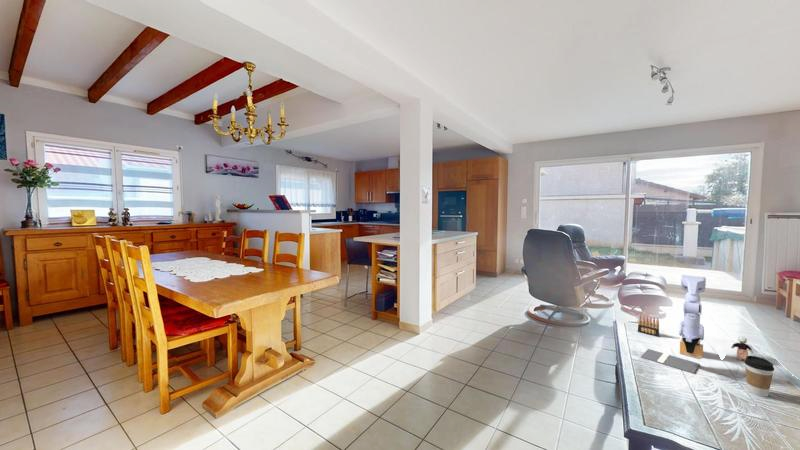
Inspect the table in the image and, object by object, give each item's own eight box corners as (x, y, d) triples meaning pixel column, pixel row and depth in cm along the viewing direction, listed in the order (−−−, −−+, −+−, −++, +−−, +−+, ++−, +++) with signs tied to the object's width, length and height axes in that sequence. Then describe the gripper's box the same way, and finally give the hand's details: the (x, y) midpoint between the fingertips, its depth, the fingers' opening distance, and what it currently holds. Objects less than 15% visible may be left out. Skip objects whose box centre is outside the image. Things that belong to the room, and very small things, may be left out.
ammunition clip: (659, 336, 188) (659, 318, 188) (658, 337, 187) (659, 318, 186) (638, 331, 197) (638, 313, 196) (637, 331, 195) (638, 314, 195)
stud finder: (681, 350, 156) (681, 339, 155) (702, 356, 149) (703, 344, 149) (679, 352, 153) (680, 341, 153) (701, 358, 147) (701, 346, 147)
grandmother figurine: (750, 360, 157) (751, 337, 157) (753, 363, 154) (754, 339, 154) (729, 356, 162) (730, 333, 161) (732, 359, 159) (733, 336, 158)
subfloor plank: (648, 349, 171) (648, 348, 171) (699, 364, 154) (699, 363, 154) (640, 357, 162) (640, 356, 162) (694, 374, 146) (694, 372, 146)
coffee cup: (762, 389, 133) (764, 356, 132) (779, 400, 125) (780, 366, 124) (737, 385, 136) (739, 354, 135) (752, 396, 128) (754, 363, 127)
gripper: (700, 331, 143) (699, 359, 144) (705, 324, 152) (704, 350, 153) (680, 327, 149) (679, 353, 149) (686, 320, 157) (685, 345, 158)
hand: (690, 351), depth 151 cm, fingers closed on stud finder, 4 cm apart
